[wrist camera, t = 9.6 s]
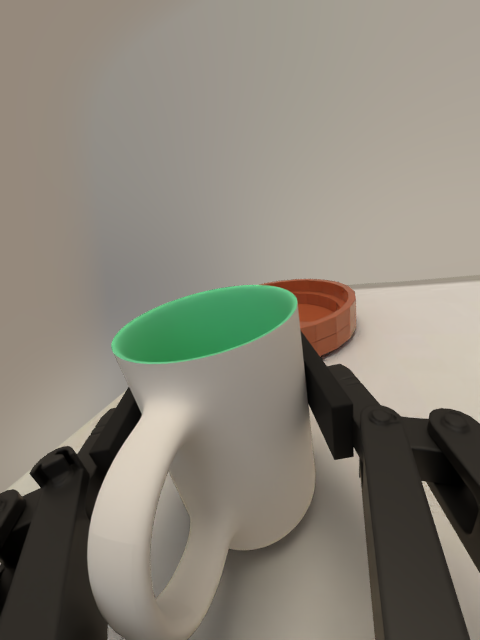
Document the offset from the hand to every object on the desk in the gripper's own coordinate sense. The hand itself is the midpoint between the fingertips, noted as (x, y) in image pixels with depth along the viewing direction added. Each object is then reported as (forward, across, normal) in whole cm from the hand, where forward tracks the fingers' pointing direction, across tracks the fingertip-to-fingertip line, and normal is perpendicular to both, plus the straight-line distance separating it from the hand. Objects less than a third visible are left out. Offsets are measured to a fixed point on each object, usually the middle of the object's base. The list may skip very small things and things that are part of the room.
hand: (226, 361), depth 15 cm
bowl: (+18, +6, -7) cm, 21 cm away
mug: (-5, 0, -6) cm, 8 cm away
